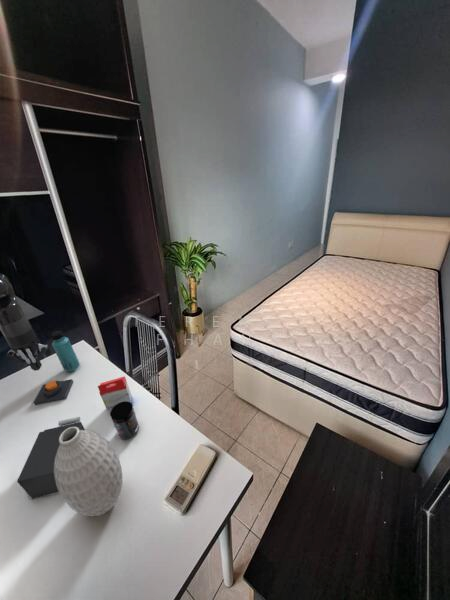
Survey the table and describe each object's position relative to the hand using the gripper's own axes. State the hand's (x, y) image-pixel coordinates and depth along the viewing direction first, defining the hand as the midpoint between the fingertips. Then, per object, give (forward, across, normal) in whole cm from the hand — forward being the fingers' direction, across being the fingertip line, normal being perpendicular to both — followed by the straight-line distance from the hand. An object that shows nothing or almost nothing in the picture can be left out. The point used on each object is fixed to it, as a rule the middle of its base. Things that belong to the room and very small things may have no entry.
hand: (37, 368), depth 91 cm
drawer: (+13, -14, +27) cm, 33 cm away
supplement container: (+14, -32, +24) cm, 42 cm away
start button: (+11, -1, -1) cm, 11 cm away
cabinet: (+14, -14, +31) cm, 37 cm away
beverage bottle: (+14, -4, -14) cm, 20 cm away
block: (+14, -1, -1) cm, 14 cm away
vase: (+14, -28, +43) cm, 53 cm away
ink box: (+14, -28, +13) cm, 34 cm away
